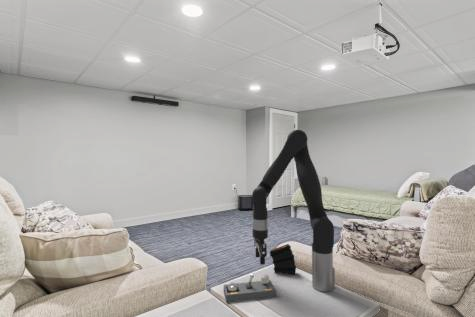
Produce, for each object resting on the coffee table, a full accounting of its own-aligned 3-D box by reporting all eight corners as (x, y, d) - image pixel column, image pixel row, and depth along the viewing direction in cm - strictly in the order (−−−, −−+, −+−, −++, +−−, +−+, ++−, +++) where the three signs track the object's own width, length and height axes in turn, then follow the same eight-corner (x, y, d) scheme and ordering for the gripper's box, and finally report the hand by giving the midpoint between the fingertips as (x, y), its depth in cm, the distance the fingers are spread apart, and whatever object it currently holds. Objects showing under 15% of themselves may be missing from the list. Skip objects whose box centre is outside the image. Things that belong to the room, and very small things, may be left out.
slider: (267, 281, 123) (267, 275, 123) (269, 283, 121) (268, 277, 121) (261, 281, 122) (261, 275, 122) (262, 283, 120) (262, 277, 120)
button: (236, 288, 119) (236, 282, 119) (238, 293, 115) (238, 287, 115) (227, 289, 119) (227, 283, 119) (228, 294, 114) (228, 288, 114)
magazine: (301, 273, 134) (288, 245, 136) (278, 281, 138) (265, 254, 139) (301, 270, 138) (289, 243, 139) (279, 277, 141) (267, 251, 143)
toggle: (250, 283, 119) (253, 274, 119) (251, 285, 117) (254, 275, 118) (247, 282, 119) (250, 273, 119) (248, 284, 117) (251, 274, 117)
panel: (269, 286, 125) (269, 278, 124) (275, 296, 116) (275, 288, 116) (223, 291, 121) (223, 283, 121) (226, 302, 112) (226, 293, 112)
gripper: (272, 231, 122) (271, 266, 122) (263, 223, 136) (263, 254, 136) (256, 232, 121) (256, 267, 121) (249, 224, 135) (249, 255, 135)
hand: (260, 260), depth 129 cm, fingers open, 8 cm apart
